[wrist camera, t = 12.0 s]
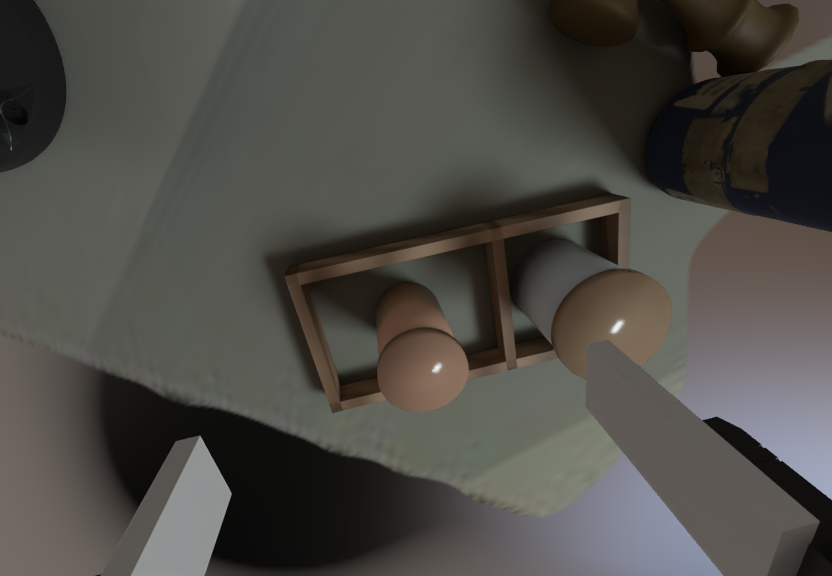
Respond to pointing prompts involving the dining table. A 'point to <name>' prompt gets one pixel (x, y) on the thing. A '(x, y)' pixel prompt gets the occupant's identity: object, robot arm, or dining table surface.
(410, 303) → the tan domed cylinder
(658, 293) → the white lidded jar
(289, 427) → the dining table surface
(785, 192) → the canister
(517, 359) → the caddy
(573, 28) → the kendama
